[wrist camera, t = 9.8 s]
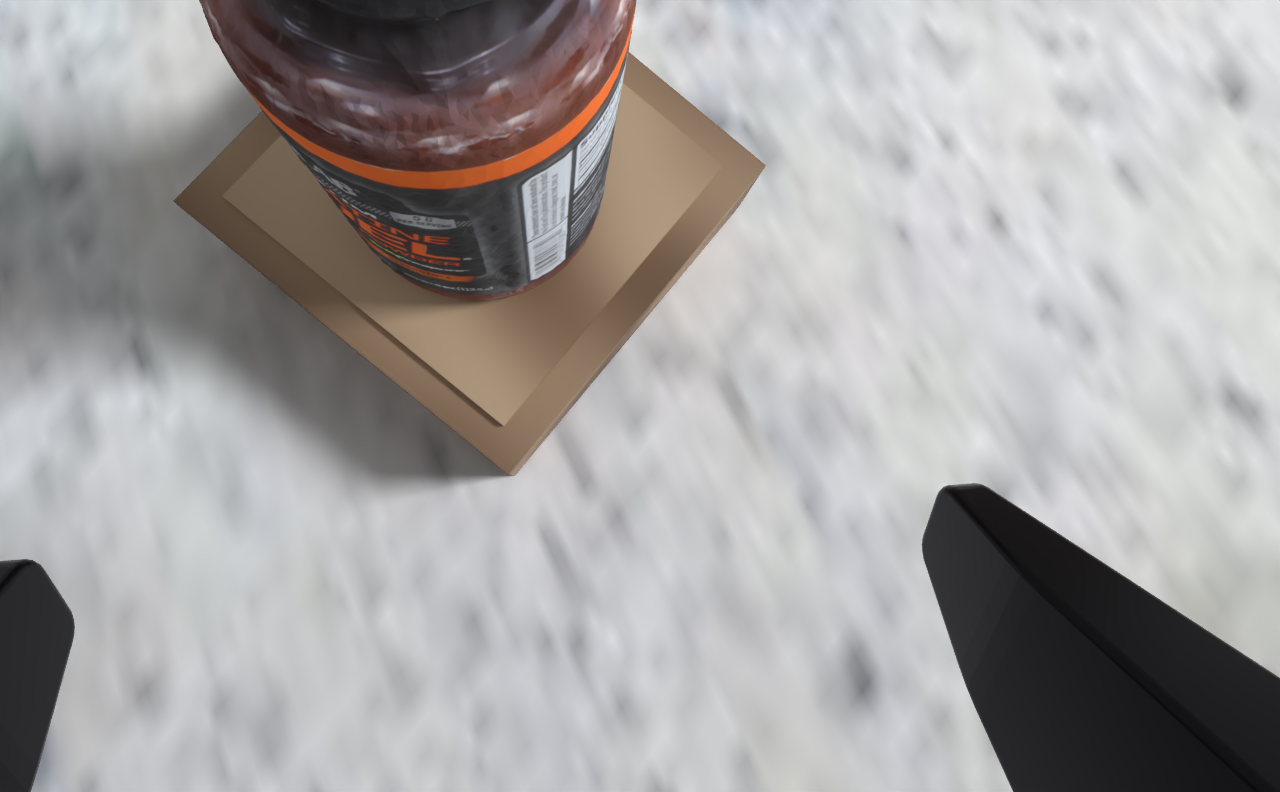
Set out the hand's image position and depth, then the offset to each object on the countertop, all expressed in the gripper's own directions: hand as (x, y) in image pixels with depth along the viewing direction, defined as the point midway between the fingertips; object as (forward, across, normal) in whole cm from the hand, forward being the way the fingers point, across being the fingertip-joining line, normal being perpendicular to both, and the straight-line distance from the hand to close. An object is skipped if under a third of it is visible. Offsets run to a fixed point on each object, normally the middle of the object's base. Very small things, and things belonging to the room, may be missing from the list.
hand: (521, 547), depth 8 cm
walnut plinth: (+15, +1, +3) cm, 16 cm away
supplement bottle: (+13, +1, +1) cm, 13 cm away
